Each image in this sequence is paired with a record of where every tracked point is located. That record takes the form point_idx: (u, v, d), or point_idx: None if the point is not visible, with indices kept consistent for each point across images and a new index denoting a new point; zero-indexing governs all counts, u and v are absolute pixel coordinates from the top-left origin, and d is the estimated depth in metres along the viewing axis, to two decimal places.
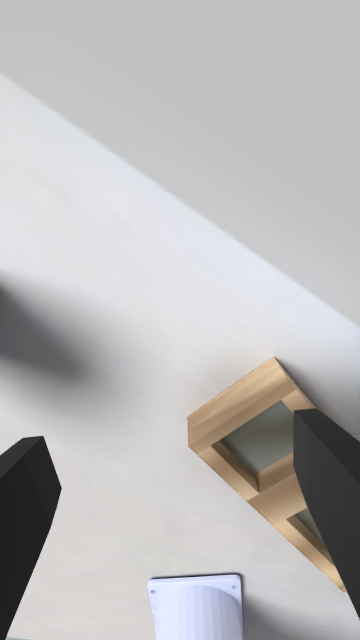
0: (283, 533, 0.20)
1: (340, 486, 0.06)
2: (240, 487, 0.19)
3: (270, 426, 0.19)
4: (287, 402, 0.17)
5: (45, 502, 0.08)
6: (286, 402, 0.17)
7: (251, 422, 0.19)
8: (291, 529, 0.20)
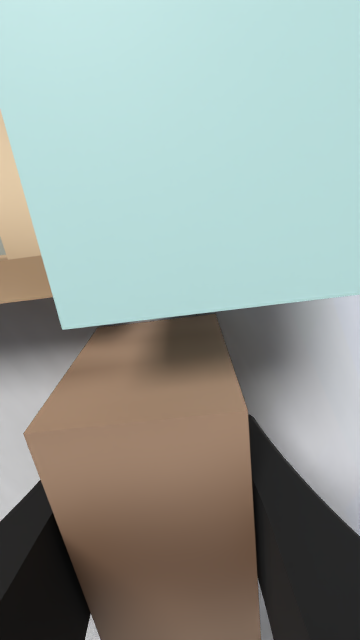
0: None
1: None
2: None
3: None
4: None
5: None
6: None
7: None
8: None
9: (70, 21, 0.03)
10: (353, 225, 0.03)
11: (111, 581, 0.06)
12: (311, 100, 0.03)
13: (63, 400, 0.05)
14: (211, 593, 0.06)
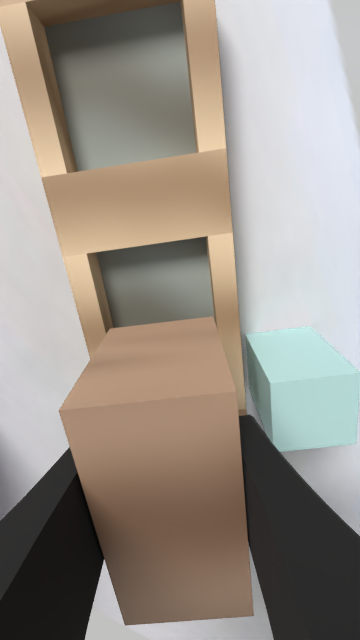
0: (72, 281, 0.13)
1: (251, 494, 0.06)
2: (42, 139, 0.11)
3: (141, 92, 0.12)
4: None
5: None
6: None
7: (116, 63, 0.11)
8: (87, 279, 0.13)
9: (291, 395, 0.12)
10: (353, 429, 0.13)
11: (125, 539, 0.07)
12: (343, 407, 0.12)
13: (87, 386, 0.07)
14: (209, 549, 0.07)
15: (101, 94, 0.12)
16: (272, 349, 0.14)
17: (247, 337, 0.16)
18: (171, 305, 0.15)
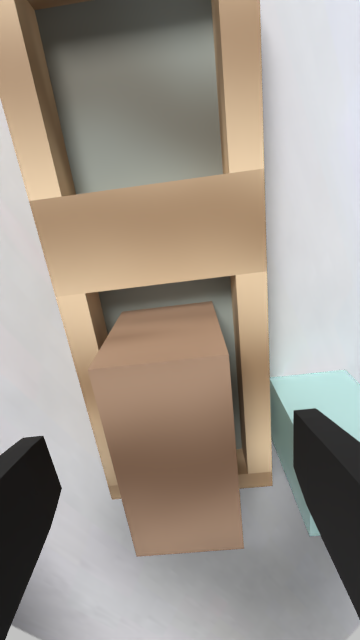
0: (67, 325, 0.10)
1: (340, 486, 0.06)
2: (30, 153, 0.09)
3: (156, 95, 0.09)
4: None
5: (45, 502, 0.08)
6: None
7: (125, 59, 0.09)
8: (85, 323, 0.10)
9: None
10: None
11: (138, 479, 0.09)
12: None
13: (108, 353, 0.08)
14: (206, 489, 0.09)
15: (106, 97, 0.09)
16: (305, 402, 0.12)
17: (272, 382, 0.14)
18: None
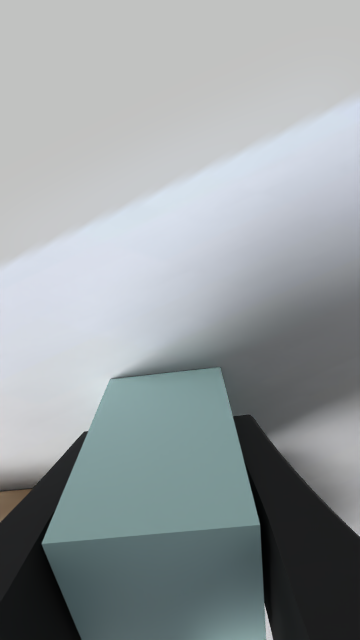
0: None
1: None
2: None
3: None
4: None
5: None
6: None
7: None
8: None
9: (117, 636, 0.06)
10: (211, 534, 0.05)
11: None
12: (142, 559, 0.05)
13: None
14: None
15: None
16: None
17: None
18: None
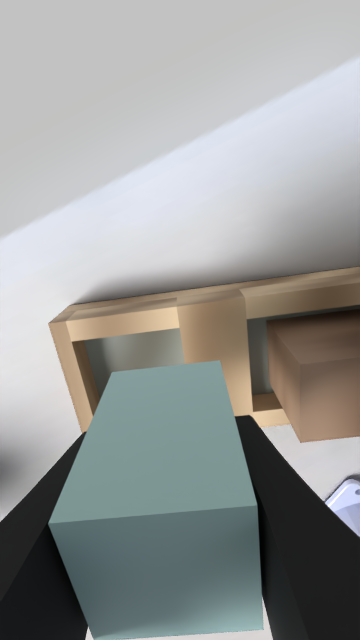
0: (274, 423, 0.15)
1: None
2: None
3: (135, 356, 0.16)
4: (78, 337, 0.14)
5: None
6: (77, 338, 0.14)
7: None
8: (274, 413, 0.15)
9: (119, 615, 0.06)
10: (210, 514, 0.05)
11: None
12: (144, 539, 0.05)
13: (292, 421, 0.13)
14: None
15: None
16: None
17: None
18: None
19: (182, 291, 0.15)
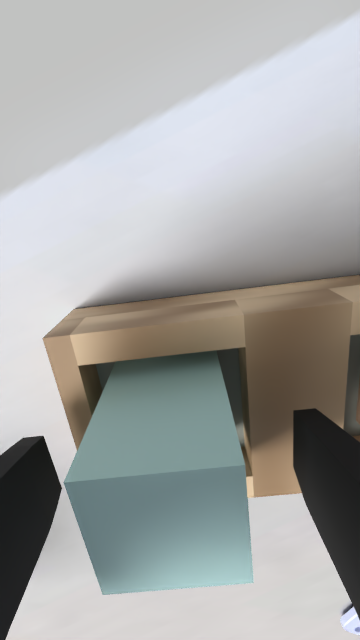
0: None
1: (340, 486, 0.06)
2: None
3: None
4: (88, 359, 0.09)
5: (45, 502, 0.08)
6: (87, 360, 0.09)
7: None
8: None
9: (125, 569, 0.07)
10: (204, 473, 0.06)
11: None
12: (147, 497, 0.06)
13: None
14: None
15: None
16: None
17: None
18: None
19: (237, 291, 0.11)
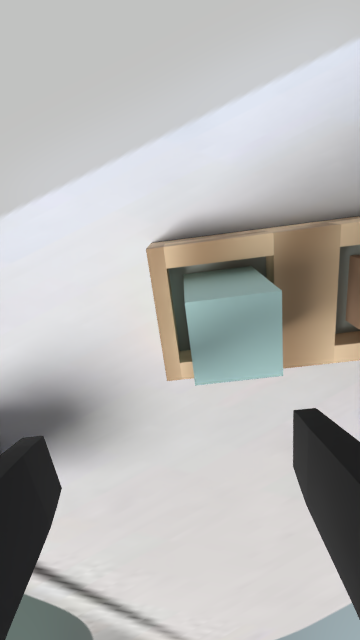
0: (354, 358, 0.16)
1: (340, 486, 0.06)
2: None
3: None
4: (173, 264, 0.14)
5: (45, 502, 0.08)
6: (173, 265, 0.14)
7: None
8: (355, 347, 0.15)
9: (210, 365, 0.12)
10: (260, 296, 0.11)
11: None
12: (228, 312, 0.11)
13: None
14: None
15: None
16: None
17: None
18: None
19: (265, 228, 0.16)
